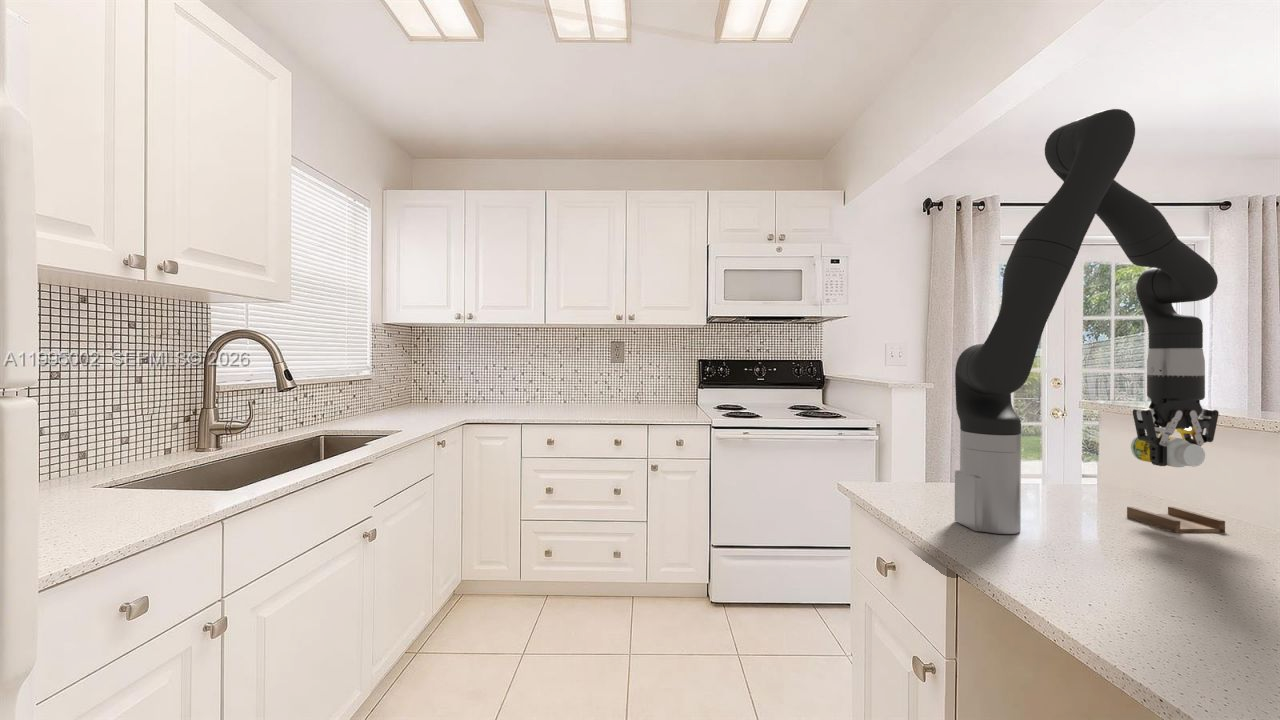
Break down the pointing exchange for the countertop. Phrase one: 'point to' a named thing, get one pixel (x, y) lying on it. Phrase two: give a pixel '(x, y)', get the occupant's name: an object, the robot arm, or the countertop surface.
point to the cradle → (1178, 520)
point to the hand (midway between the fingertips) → (1175, 465)
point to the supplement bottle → (1171, 452)
